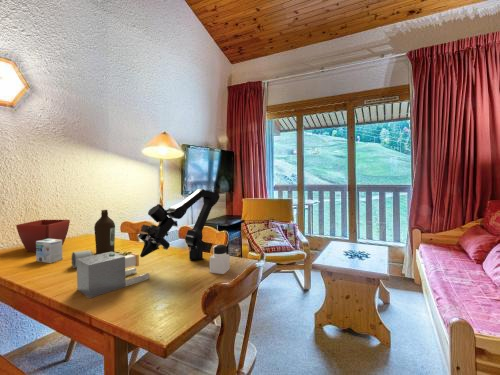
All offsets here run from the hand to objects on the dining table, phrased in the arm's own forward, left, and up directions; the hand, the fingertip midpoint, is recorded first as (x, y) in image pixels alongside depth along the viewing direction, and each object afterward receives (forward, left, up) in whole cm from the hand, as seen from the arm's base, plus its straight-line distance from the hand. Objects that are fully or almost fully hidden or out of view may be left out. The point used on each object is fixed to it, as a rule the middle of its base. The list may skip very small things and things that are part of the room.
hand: (141, 256), depth 113 cm
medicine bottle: (-34, +6, -9) cm, 36 cm away
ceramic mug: (+29, -25, -9) cm, 40 cm away
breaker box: (+10, +6, -9) cm, 14 cm away
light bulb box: (+48, -40, -9) cm, 63 cm away
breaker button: (+7, +4, -3) cm, 9 cm away
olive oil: (+23, -47, -9) cm, 53 cm away
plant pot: (+60, -68, -9) cm, 91 cm away
